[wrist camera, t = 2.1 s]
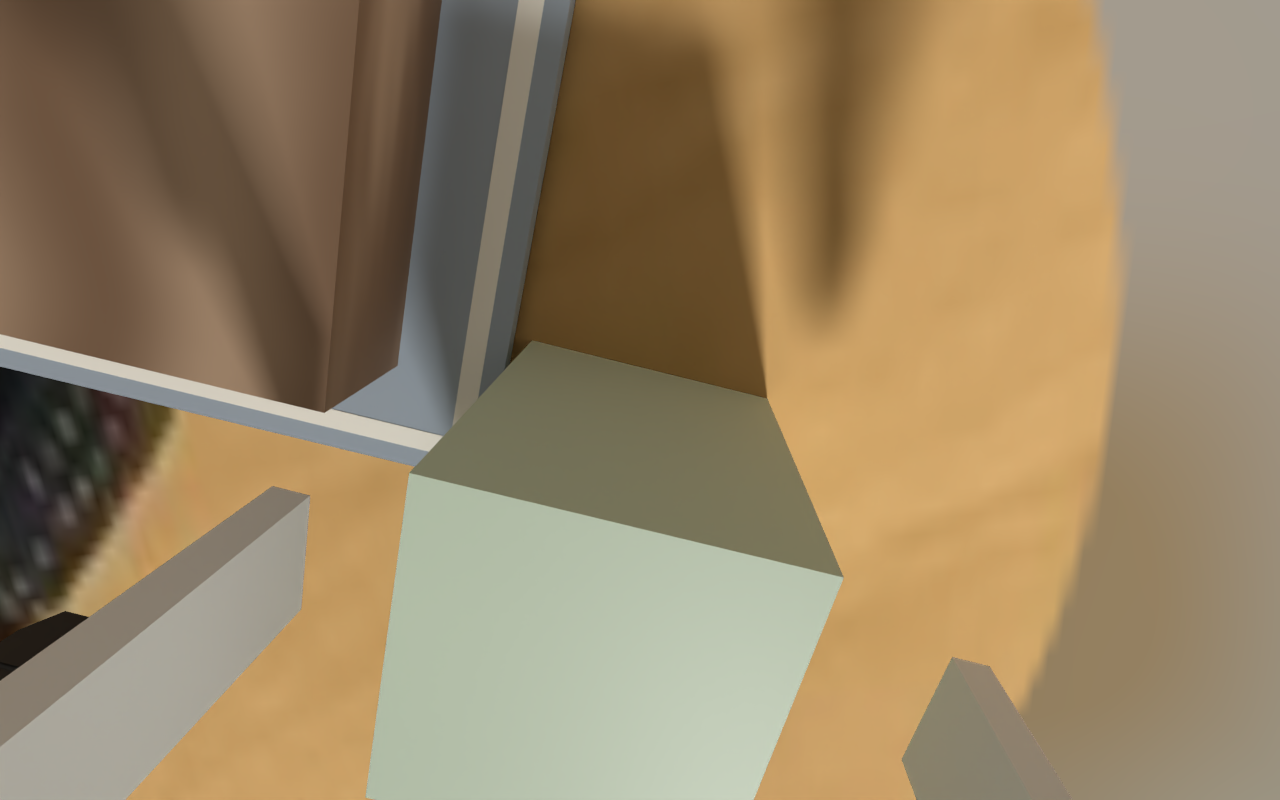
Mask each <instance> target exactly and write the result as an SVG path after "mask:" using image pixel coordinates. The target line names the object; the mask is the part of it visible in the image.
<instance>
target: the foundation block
mask: <svg viewBox="0 0 1280 800" xmlns="http://www.w3.org/2000/svg"><path fill="white" fill-rule="evenodd" d="M441 4H442V0H0V334H1V335H5V336H9V337H13V338H17V339H22V340H26V341H30V342H34V343H38V344H42V345H46V346H50V347H55V348H59V349H63V350H67V351H71V352H75V353H79V354H83V355H87V356H92V357H96V358H100V359H104V360H108V361H112V362H116V363H120V364H125V365H129V366H133V367H137V368H141V369H145V370H149V371H153V372H158V373H162V374H166V375H170V376H174V377H178V378H182V379H186V380H190V381H195V382H199V383H203V384H207V385H211V386H215V387H219V388H223V389H228V390H232V391H236V392H240V393H244V394H248V395H252V396H256V397H260V398H265V399H269V400H273V401H277V402H281V403H285V404H289V405H293V406H298V407H302V408H306V409H310V410H314V411H318V412H322V413H325V412H327V411H328V410H330V409H331V408H333V407H335V406H336V405H338V404H339V403H341V402H342V401H344V400H345V399H347V398H348V397H350V396H352V395H353V394H355V393H356V392H358V391H359V390H361V389H362V388H364V387H366V386H367V385H369V384H370V383H372V382H373V381H375V380H376V379H378V378H379V377H381V376H383V375H384V374H386V373H387V372H389V371H390V370H392V369H393V368H395V367H396V366H398V358H399V350H400V342H401V334H402V325H403V317H404V309H405V301H406V292H407V284H408V276H409V268H410V259H411V251H412V243H413V235H414V227H415V218H416V210H417V202H418V194H419V185H420V177H421V169H422V161H423V152H424V144H425V136H426V128H427V119H428V111H429V103H430V95H431V86H432V78H433V70H434V62H435V54H436V45H437V37H438V29H439V21H440V12H441Z"/></svg>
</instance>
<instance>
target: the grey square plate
mask: <svg viewBox="0 0 1280 800" xmlns="http://www.w3.org/2000/svg"><path fill="white" fill-rule="evenodd" d="M575 1H576V0H442V4H441V12H440V21H439V29H438V37H437V45H436V54H435V62H434V70H433V78H432V86H431V95H430V103H429V111H428V119H427V128H426V136H425V144H424V152H423V161H422V169H421V177H420V185H419V194H418V202H417V210H416V218H415V227H414V235H413V243H412V251H411V259H410V268H409V276H408V284H407V292H406V301H405V309H404V317H403V325H402V334H401V342H400V350H399V358H398V366H396V367H395V368H393V369H392V370H390V371H389V372H387V373H386V374H384V375H383V376H381V377H379V378H378V379H376V380H375V381H373V382H372V383H370V384H369V385H367V386H366V387H364V388H362V389H361V390H359V391H358V392H356V393H355V394H353V395H352V396H350V397H348V398H347V399H345V400H344V401H342V402H341V403H339V404H338V405H336V406H335V407H333V408H331V409H330V410H328V411H327V412H325V413H322V412H318V411H314V410H310V409H306V408H302V407H298V406H293V405H289V404H285V403H281V402H277V401H273V400H269V399H265V398H260V397H256V396H252V395H248V394H244V393H240V392H236V391H232V390H228V389H223V388H219V387H215V386H211V385H207V384H203V383H199V382H195V381H190V380H186V379H182V378H178V377H174V376H170V375H166V374H162V373H158V372H153V371H149V370H145V369H141V368H137V367H133V366H129V365H125V364H120V363H116V362H112V361H108V360H104V359H100V358H96V357H92V356H87V355H83V354H79V353H75V352H71V351H67V350H63V349H59V348H55V347H50V346H46V345H42V344H38V343H34V342H30V341H26V340H22V339H17V338H13V337H9V336H5V335H1V334H0V366H1V367H5V368H9V369H13V370H17V371H21V372H26V373H30V374H34V375H38V376H42V377H46V378H50V379H55V380H59V381H63V382H67V383H71V384H75V385H79V386H84V387H88V388H92V389H96V390H100V391H104V392H108V393H113V394H117V395H121V396H125V397H129V398H133V399H137V400H141V401H146V402H150V403H154V404H158V405H162V406H166V407H170V408H175V409H179V410H183V411H187V412H191V413H195V414H199V415H204V416H208V417H212V418H216V419H220V420H224V421H228V422H233V423H237V424H241V425H245V426H249V427H253V428H257V429H262V430H266V431H270V432H274V433H278V434H282V435H286V436H291V437H295V438H299V439H303V440H307V441H311V442H315V443H320V444H324V445H328V446H332V447H336V448H340V449H344V450H348V451H353V452H357V453H361V454H365V455H369V456H373V457H377V458H382V459H386V460H390V461H394V462H398V463H402V464H406V465H411V466H416V465H417V464H418V463H419V462H420V461H421V460H422V459H423V458H424V456H425V455H426V454H427V453H428V452H429V451H430V450H431V449H432V448H433V447H434V446H435V445H436V444H437V442H438V441H439V440H440V439H441V438H442V437H443V436H444V435H445V434H446V433H447V432H448V431H449V429H450V428H451V427H452V426H453V425H454V424H455V423H456V422H457V421H458V420H459V419H460V418H461V417H462V415H463V414H464V413H465V412H466V411H467V410H468V409H469V408H470V407H471V406H472V405H473V404H474V402H475V401H476V400H477V399H478V398H479V397H480V396H481V395H482V394H483V393H484V392H485V391H486V390H487V388H488V387H489V386H490V385H491V384H492V383H493V382H494V381H495V380H496V379H497V378H498V377H499V375H500V374H501V373H502V372H503V371H504V370H505V369H506V368H507V367H508V366H509V365H510V360H511V354H512V349H513V343H514V338H515V332H516V327H517V321H518V316H519V310H520V305H521V299H522V294H523V288H524V283H525V277H526V272H527V266H528V260H529V255H530V249H531V244H532V238H533V233H534V227H535V222H536V216H537V211H538V205H539V200H540V194H541V189H542V183H543V178H544V172H545V167H546V161H547V156H548V150H549V144H550V139H551V133H552V128H553V122H554V117H555V111H556V106H557V100H558V95H559V89H560V84H561V78H562V73H563V67H564V62H565V56H566V51H567V45H568V39H569V34H570V28H571V23H572V17H573V12H574V6H575Z"/></svg>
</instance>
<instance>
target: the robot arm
mask: <svg viewBox="0 0 1280 800" xmlns="http://www.w3.org/2000/svg"><path fill="white" fill-rule="evenodd" d="M309 504H310V495H306V494H302V493H298V492H294V491H290V490H286V489H282V488H278V487H274V486H272V487H271V488H269V489H268V490H266V491H265V492H264V493H262V494H261V495H259V496H258V497H257V498H255V499H254V500H252V501H251V502H250V503H248V504H247V505H245V506H244V507H243V508H241V509H240V510H238V511H237V512H236V513H234V514H233V515H231V516H230V517H229V518H227V519H226V520H224V521H223V522H222V523H220V524H219V525H217V526H216V527H215V528H213V529H212V530H210V531H209V532H208V533H206V534H205V535H203V536H202V537H201V538H199V539H198V540H196V541H195V542H194V543H192V544H191V545H189V546H188V547H187V548H185V549H184V550H182V551H181V552H180V553H178V554H177V555H175V556H174V557H173V558H171V559H170V560H168V561H167V562H166V563H164V564H163V565H161V566H160V567H159V568H157V569H156V570H154V571H153V572H152V573H150V574H149V575H147V576H146V577H145V578H143V579H142V580H140V581H139V582H138V583H136V584H135V585H133V586H132V587H131V588H129V589H128V590H126V591H125V592H124V593H122V594H121V595H119V596H118V597H117V598H115V599H114V600H112V601H111V602H110V603H108V604H107V605H105V606H104V607H103V608H101V609H100V610H98V611H97V612H96V613H94V614H93V615H91V616H90V617H86V616H82V615H78V614H74V613H70V612H66V611H65V612H62V613H60V614H57V615H55V616H52V617H50V618H47V619H45V620H42V621H40V622H37V623H35V624H32V625H30V626H27V627H25V628H22V629H20V630H18V631H16V632H15V633H13V634H12V635H10V636H9V637H7V638H6V639H4V640H3V641H1V642H0V800H125V799H126V798H127V797H128V796H129V795H130V794H131V793H132V792H133V791H134V790H135V789H136V788H137V786H138V785H139V784H140V783H141V782H142V781H143V780H144V779H145V778H146V777H147V776H148V775H149V773H150V772H151V771H152V770H153V769H154V768H155V767H156V766H157V765H158V764H159V763H160V762H161V760H162V759H163V758H164V757H165V756H166V755H167V754H168V753H169V752H170V751H171V750H172V749H173V747H174V746H175V745H176V744H177V743H178V742H179V741H180V740H181V739H182V738H183V737H184V736H185V734H186V733H187V732H188V731H189V730H190V729H191V728H192V727H193V726H194V725H195V724H196V723H197V721H198V720H199V719H200V718H201V717H202V716H203V715H204V714H205V713H206V712H207V711H208V710H209V708H210V707H211V706H212V705H213V704H214V703H215V702H216V701H217V700H218V699H219V698H220V697H221V695H222V694H223V693H224V692H225V691H226V690H227V689H228V688H229V687H230V686H231V685H232V684H233V682H234V681H235V680H236V679H237V678H238V677H239V676H240V675H241V674H242V673H243V672H244V671H245V669H246V668H247V667H248V666H249V665H250V664H251V663H252V662H253V661H254V660H255V659H256V658H257V656H258V655H259V654H260V653H261V652H262V651H263V650H264V649H265V648H266V647H267V646H268V645H269V643H270V642H271V641H272V640H273V639H274V638H275V637H276V636H277V635H278V634H279V633H280V631H281V630H282V629H283V628H284V627H285V626H286V625H287V624H288V623H289V622H290V621H291V620H292V618H293V617H294V616H295V615H296V614H297V613H298V612H299V611H300V610H301V605H302V592H303V580H304V567H305V555H306V542H307V529H308V517H309ZM902 762H903V764H904V767H905V770H906V772H907V775H908V778H909V781H910V783H911V786H912V789H913V791H914V794H915V797H916V799H917V800H1073V799H1072V797H1071V796H1070V794H1069V792H1068V791H1067V789H1066V788H1065V786H1064V785H1063V783H1062V781H1061V780H1060V778H1059V776H1058V775H1057V773H1056V772H1055V770H1054V768H1053V767H1052V765H1051V764H1050V762H1049V760H1048V759H1047V757H1046V756H1045V754H1044V753H1043V751H1042V750H1041V748H1040V746H1039V745H1038V743H1037V741H1036V740H1035V738H1034V737H1033V735H1032V733H1031V732H1030V730H1029V729H1028V727H1027V725H1026V724H1025V722H1024V721H1023V719H1022V717H1021V716H1020V714H1019V713H1018V711H1017V709H1016V708H1015V706H1014V705H1013V703H1012V701H1011V700H1010V698H1009V697H1008V695H1007V693H1006V692H1005V690H1004V689H1003V687H1002V685H1001V684H1000V682H999V681H998V679H997V678H996V676H995V674H994V673H993V671H992V670H991V668H990V666H986V665H982V664H978V663H974V662H970V661H966V660H962V659H958V658H954V657H952V659H951V661H950V663H949V665H948V667H947V669H946V671H945V673H944V675H943V677H942V679H941V681H940V683H939V685H938V687H937V689H936V691H935V693H934V695H933V697H932V699H931V701H930V703H929V705H928V707H927V709H926V711H925V713H924V715H923V717H922V719H921V721H920V723H919V725H918V727H917V729H916V731H915V733H914V735H913V737H912V739H911V741H910V744H909V746H908V748H907V750H906V752H905V754H904V756H903V758H902Z"/></svg>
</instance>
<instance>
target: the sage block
mask: <svg viewBox="0 0 1280 800" xmlns="http://www.w3.org/2000/svg"><path fill="white" fill-rule="evenodd" d="M843 578H844V577H843V575H842V572H841V570H840V568H839V565H838V563H837V561H836V558H835V556H834V554H833V551H832V549H831V547H830V544H829V542H828V540H827V537H826V535H825V533H824V530H823V528H822V526H821V523H820V521H819V519H818V516H817V514H816V512H815V509H814V507H813V504H812V502H811V500H810V497H809V495H808V493H807V490H806V488H805V486H804V483H803V481H802V479H801V476H800V474H799V472H798V469H797V467H796V465H795V462H794V460H793V458H792V455H791V453H790V451H789V448H788V446H787V444H786V441H785V439H784V437H783V434H782V432H781V430H780V427H779V425H778V422H777V420H776V418H775V415H774V413H773V411H772V408H771V406H770V404H769V401H768V399H767V398H763V397H759V396H755V395H751V394H747V393H743V392H739V391H735V390H731V389H727V388H723V387H719V386H715V385H711V384H707V383H703V382H699V381H695V380H691V379H686V378H682V377H678V376H674V375H670V374H666V373H662V372H658V371H654V370H650V369H646V368H642V367H638V366H634V365H630V364H626V363H622V362H618V361H614V360H610V359H606V358H602V357H598V356H594V355H590V354H586V353H581V352H577V351H573V350H569V349H565V348H561V347H557V346H553V345H549V344H545V343H541V342H537V341H533V340H532V341H531V342H530V343H529V344H528V345H527V346H526V347H525V349H524V350H523V351H522V352H521V353H520V354H519V355H518V356H517V357H516V358H515V359H514V360H513V361H512V363H511V364H510V365H509V366H508V367H507V368H506V369H505V370H504V371H503V372H502V373H501V374H500V375H499V377H498V378H497V379H496V380H495V381H494V382H493V383H492V384H491V385H490V386H489V387H488V388H487V390H486V391H485V392H484V393H483V394H482V395H481V396H480V397H479V398H478V399H477V400H476V401H475V402H474V404H473V405H472V406H471V407H470V408H469V409H468V410H467V411H466V412H465V413H464V414H463V415H462V417H461V418H460V419H459V420H458V421H457V422H456V423H455V424H454V425H453V426H452V427H451V428H450V429H449V431H448V432H447V433H446V434H445V435H444V436H443V437H442V438H441V439H440V440H439V441H438V442H437V444H436V445H435V446H434V447H433V448H432V449H431V450H430V451H429V452H428V453H427V454H426V455H425V456H424V458H423V459H422V460H421V461H420V462H419V463H418V464H417V465H416V466H415V467H414V468H413V469H412V471H411V472H410V473H409V478H408V486H407V493H406V501H405V508H404V516H403V523H402V530H401V538H400V545H399V553H398V560H397V568H396V575H395V582H394V590H393V597H392V605H391V612H390V619H389V627H388V634H387V642H386V649H385V657H384V664H383V671H382V679H381V686H380V694H379V701H378V708H377V716H376V723H375V731H374V738H373V746H372V753H371V760H370V768H369V775H368V783H367V790H366V798H370V799H375V800H754V798H755V795H756V793H757V790H758V788H759V785H760V783H761V780H762V778H763V775H764V773H765V770H766V768H767V765H768V763H769V761H770V758H771V756H772V753H773V751H774V748H775V746H776V743H777V741H778V738H779V736H780V733H781V731H782V728H783V726H784V724H785V721H786V719H787V716H788V714H789V711H790V709H791V706H792V704H793V701H794V699H795V696H796V694H797V691H798V689H799V687H800V684H801V682H802V679H803V677H804V674H805V672H806V669H807V667H808V664H809V662H810V659H811V657H812V654H813V652H814V650H815V647H816V645H817V642H818V640H819V637H820V635H821V632H822V630H823V627H824V625H825V622H826V620H827V617H828V615H829V613H830V610H831V608H832V605H833V603H834V600H835V598H836V595H837V593H838V590H839V588H840V585H841V583H842V580H843Z"/></svg>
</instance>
